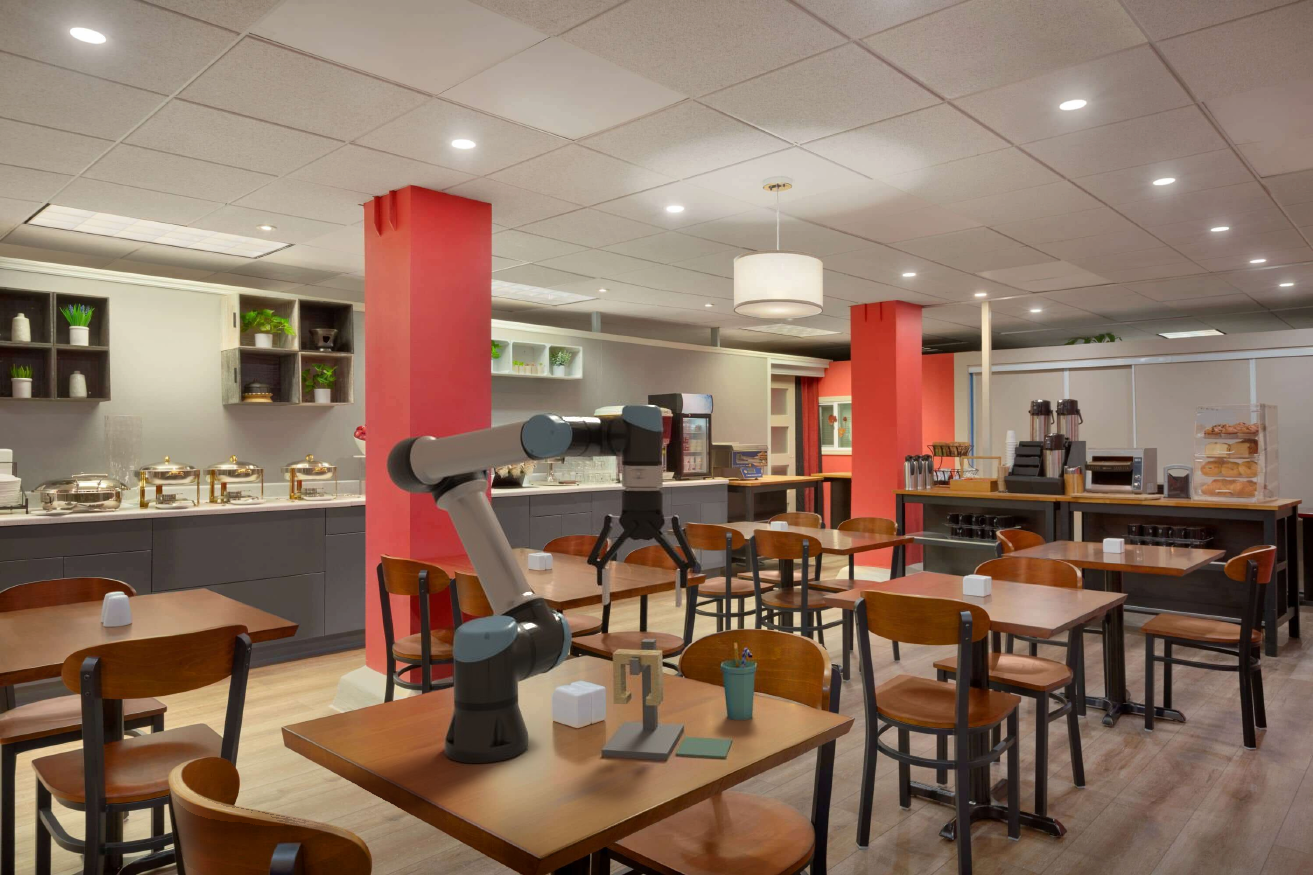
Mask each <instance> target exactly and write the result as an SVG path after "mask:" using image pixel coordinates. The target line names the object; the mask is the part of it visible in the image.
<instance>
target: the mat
mask: <svg viewBox="0 0 1313 875" xmlns="http://www.w3.org/2000/svg"><path fill="white" fill-rule="evenodd" d="M732 743H733V739H732V738H730V739H729V738H717V737H716V738H712V737H695V736H684V738H683V740H682V741H681V743H680V745H679V747H678V749H677V750H676V752H675V756H676V757H694V758H709V759H727V756H728V753H729V751H730V749H731V745H732Z"/></svg>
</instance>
